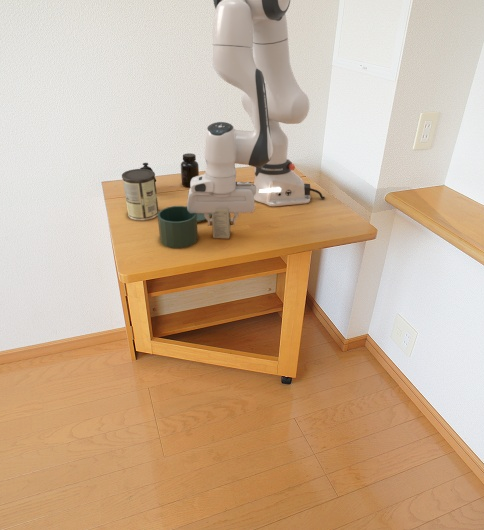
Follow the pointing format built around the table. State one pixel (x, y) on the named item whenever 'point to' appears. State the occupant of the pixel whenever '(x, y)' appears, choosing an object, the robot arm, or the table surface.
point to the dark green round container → (177, 227)
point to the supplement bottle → (189, 169)
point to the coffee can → (140, 194)
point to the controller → (146, 167)
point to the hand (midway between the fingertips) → (221, 224)
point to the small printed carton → (221, 223)
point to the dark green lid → (201, 217)
